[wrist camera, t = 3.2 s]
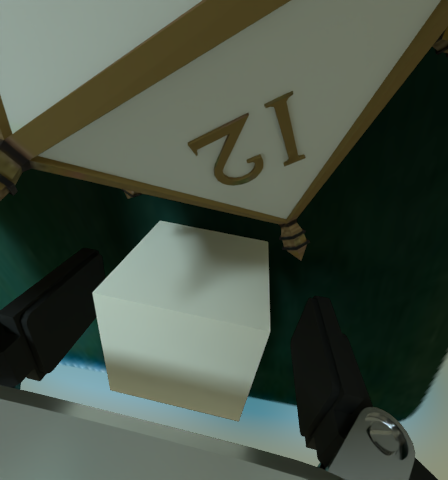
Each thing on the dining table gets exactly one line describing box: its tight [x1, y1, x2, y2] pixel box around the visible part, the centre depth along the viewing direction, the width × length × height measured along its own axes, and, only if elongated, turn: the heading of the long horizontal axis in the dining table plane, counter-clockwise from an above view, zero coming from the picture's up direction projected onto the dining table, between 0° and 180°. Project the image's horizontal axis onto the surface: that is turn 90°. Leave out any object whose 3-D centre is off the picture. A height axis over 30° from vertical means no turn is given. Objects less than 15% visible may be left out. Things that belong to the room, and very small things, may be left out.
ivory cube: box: [92, 221, 270, 421], centre depth 10 cm, size 5×5×5 cm
